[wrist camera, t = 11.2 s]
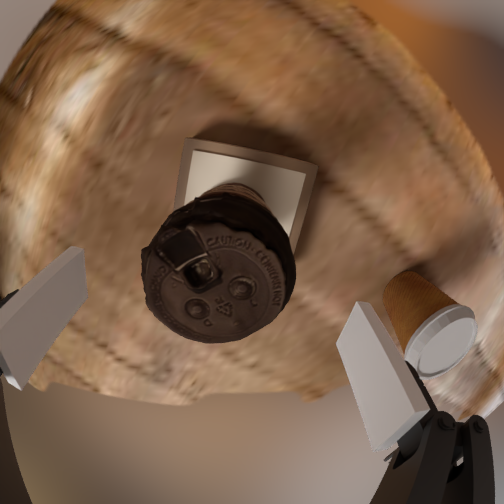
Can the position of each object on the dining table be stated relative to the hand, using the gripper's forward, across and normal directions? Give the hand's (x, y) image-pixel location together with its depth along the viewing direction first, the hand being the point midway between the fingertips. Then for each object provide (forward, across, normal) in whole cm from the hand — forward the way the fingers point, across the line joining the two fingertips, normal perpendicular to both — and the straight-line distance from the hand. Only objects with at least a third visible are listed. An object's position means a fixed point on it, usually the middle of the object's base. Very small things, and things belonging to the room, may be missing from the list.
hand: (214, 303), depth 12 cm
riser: (+17, +1, 0) cm, 17 cm away
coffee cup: (+14, 0, 0) cm, 14 cm away
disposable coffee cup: (+17, +24, -6) cm, 30 cm away
